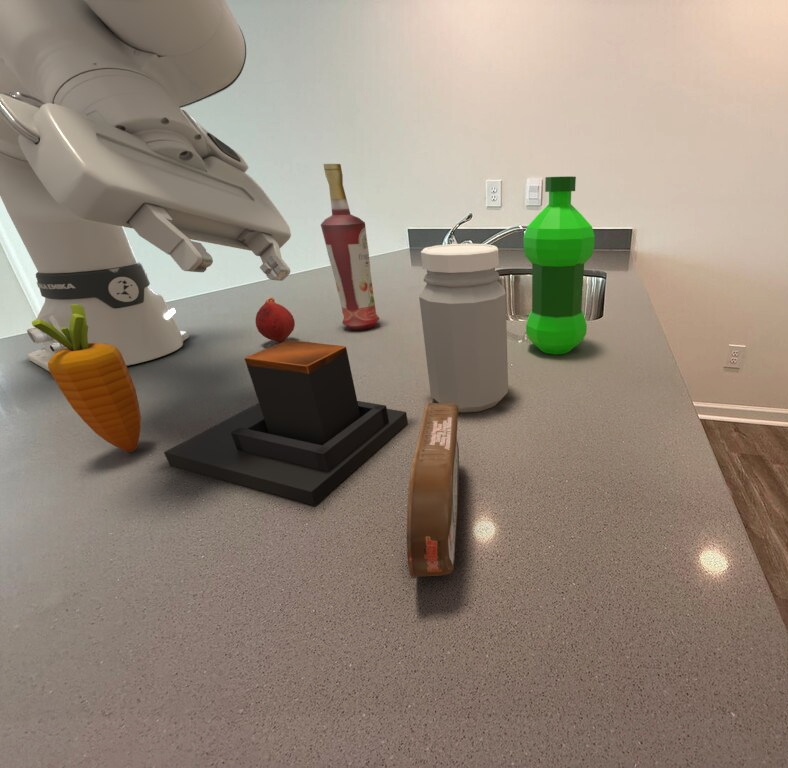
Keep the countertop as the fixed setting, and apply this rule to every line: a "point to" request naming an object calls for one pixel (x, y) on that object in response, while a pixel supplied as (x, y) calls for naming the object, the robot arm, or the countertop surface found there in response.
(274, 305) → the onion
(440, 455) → the tin
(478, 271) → the jar
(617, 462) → the countertop surface
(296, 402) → the pad block
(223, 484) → the countertop surface
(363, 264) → the liquor
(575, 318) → the plastic bottle
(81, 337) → the carrot
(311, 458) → the base pad
